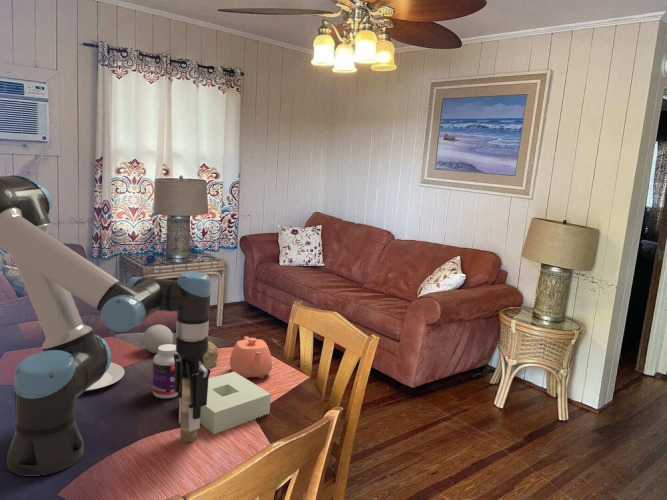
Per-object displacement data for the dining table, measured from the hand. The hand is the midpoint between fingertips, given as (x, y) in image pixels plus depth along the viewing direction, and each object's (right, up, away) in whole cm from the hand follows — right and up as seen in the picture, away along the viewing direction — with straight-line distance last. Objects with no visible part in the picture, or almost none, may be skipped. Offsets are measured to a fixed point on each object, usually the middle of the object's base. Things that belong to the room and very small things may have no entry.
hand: (189, 425), depth 128 cm
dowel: (0, -4, +1) cm, 4 cm away
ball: (-26, +8, +52) cm, 58 cm away
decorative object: (-8, +5, +46) cm, 47 cm away
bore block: (+5, -1, +16) cm, 17 cm away
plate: (-38, +4, +27) cm, 47 cm away
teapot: (+9, +3, +40) cm, 42 cm away
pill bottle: (-13, +1, +23) cm, 26 cm away
